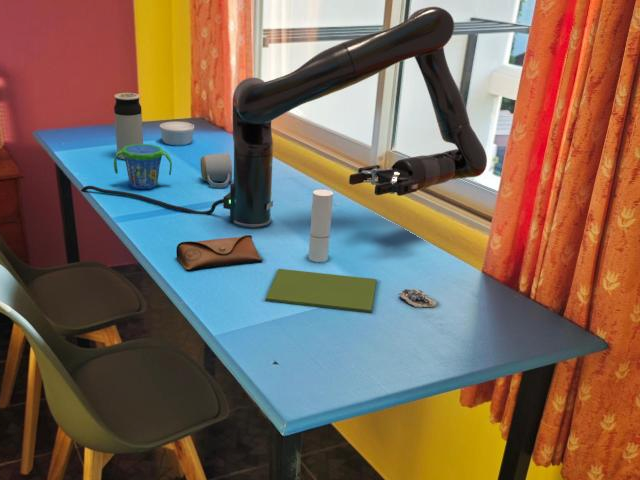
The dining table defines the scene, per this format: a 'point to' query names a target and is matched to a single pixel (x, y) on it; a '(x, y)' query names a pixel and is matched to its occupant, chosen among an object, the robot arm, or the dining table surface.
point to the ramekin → (177, 133)
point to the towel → (323, 290)
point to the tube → (320, 225)
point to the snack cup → (142, 164)
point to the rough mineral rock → (417, 298)
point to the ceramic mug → (216, 169)
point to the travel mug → (128, 121)
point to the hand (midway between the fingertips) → (362, 185)
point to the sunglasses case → (217, 252)
